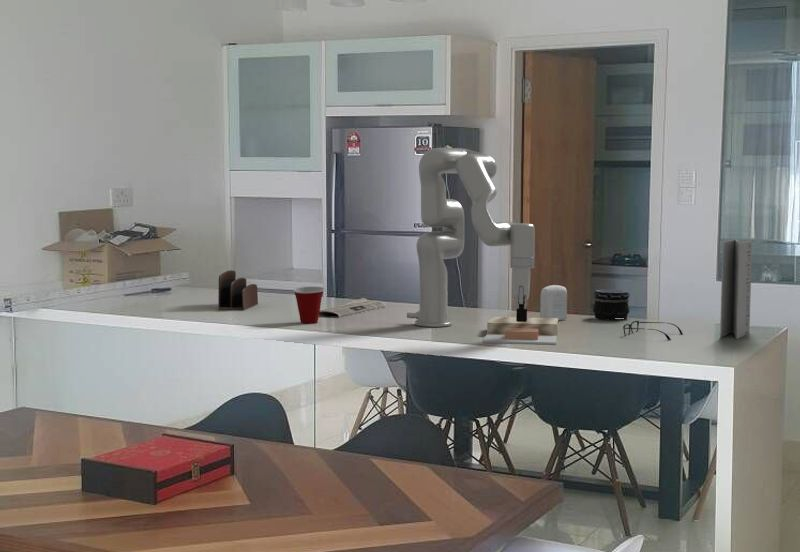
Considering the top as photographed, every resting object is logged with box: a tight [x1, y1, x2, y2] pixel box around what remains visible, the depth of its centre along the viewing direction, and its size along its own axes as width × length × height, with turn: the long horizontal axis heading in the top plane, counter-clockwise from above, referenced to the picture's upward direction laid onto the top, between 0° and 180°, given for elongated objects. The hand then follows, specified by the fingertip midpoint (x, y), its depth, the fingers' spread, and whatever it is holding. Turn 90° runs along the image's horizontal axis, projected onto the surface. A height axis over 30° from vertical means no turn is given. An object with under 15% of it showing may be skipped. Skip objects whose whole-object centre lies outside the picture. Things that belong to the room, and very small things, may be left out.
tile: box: [505, 328, 539, 340], centre depth 331 cm, size 10×7×2 cm
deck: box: [486, 316, 559, 337], centre depth 346 cm, size 22×14×4 cm, turn 81°
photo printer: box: [539, 284, 568, 321], centre depth 374 cm, size 10×4×12 cm, turn 123°
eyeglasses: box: [622, 320, 684, 341], centre depth 340 cm, size 16×16×4 cm
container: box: [592, 289, 631, 321], centre depth 379 cm, size 13×13×10 cm
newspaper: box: [319, 297, 387, 319], centre depth 399 cm, size 35×12×4 cm, turn 151°
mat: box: [482, 333, 558, 346], centre depth 331 cm, size 22×14×1 cm, turn 81°
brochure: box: [719, 239, 753, 340], centre depth 339 cm, size 14×6×30 cm, turn 148°
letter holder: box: [217, 269, 259, 312], centre depth 411 cm, size 10×20×14 cm, turn 172°
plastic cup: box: [292, 286, 325, 325], centre depth 368 cm, size 11×11×12 cm
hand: (521, 321), depth 335 cm, fingers closed
